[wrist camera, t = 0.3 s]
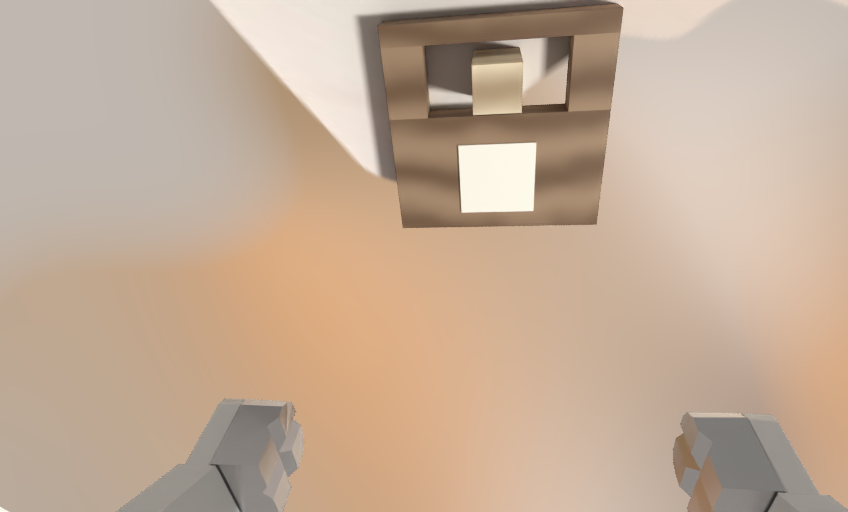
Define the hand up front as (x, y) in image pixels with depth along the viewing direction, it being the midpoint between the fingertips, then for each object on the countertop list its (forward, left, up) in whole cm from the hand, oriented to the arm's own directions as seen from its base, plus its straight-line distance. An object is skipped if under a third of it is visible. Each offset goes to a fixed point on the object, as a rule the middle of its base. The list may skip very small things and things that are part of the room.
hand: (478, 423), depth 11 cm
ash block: (+4, +1, -46) cm, 46 cm away
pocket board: (+10, +1, -46) cm, 47 cm away
